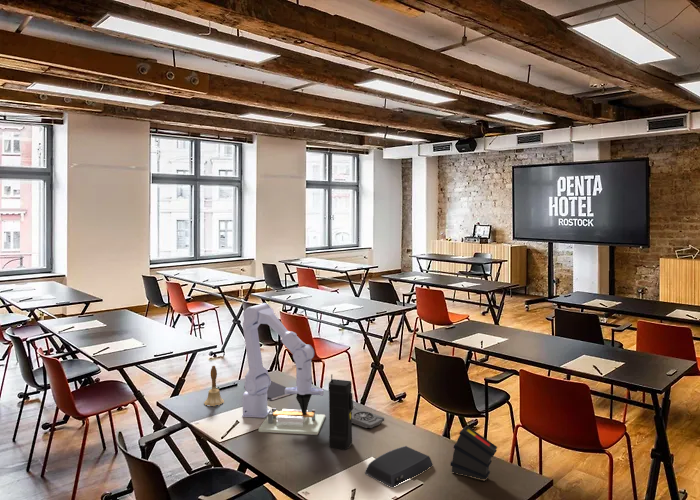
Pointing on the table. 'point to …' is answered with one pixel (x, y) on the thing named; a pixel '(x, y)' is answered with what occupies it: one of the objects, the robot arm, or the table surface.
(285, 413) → the strap
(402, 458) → the external hard drive
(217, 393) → the hand bell
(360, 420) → the graphics card
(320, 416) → the heatsink board
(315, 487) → the table surface
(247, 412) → the robot arm
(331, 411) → the portable radio
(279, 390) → the notebook
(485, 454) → the magazine
